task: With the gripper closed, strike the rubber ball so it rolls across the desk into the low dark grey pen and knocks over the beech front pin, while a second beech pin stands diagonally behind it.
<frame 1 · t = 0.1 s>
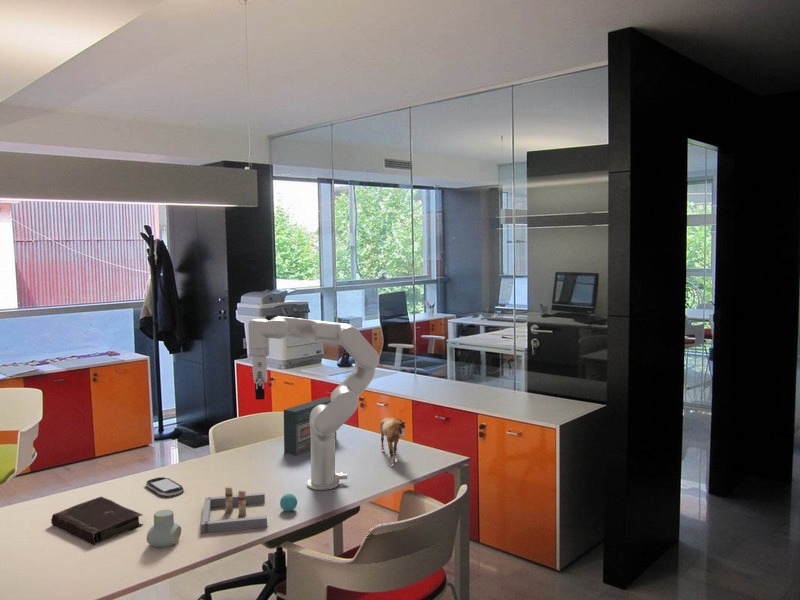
hand: (259, 396, 245), 37 cm above the table, tool pointing down, fingers open, 9 cm apart
back pin: (229, 511, 228), on the table
diary: (98, 527, 217), on the table
front pin: (242, 515, 225), on the table
ball: (288, 502, 229), on the table
horse figurine: (397, 457, 286), on the table
gaming console: (164, 490, 249), on the table
air freshener: (164, 544, 204), on the table
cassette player: (311, 446, 303), on the table
pin pen: (236, 515, 225), on the table
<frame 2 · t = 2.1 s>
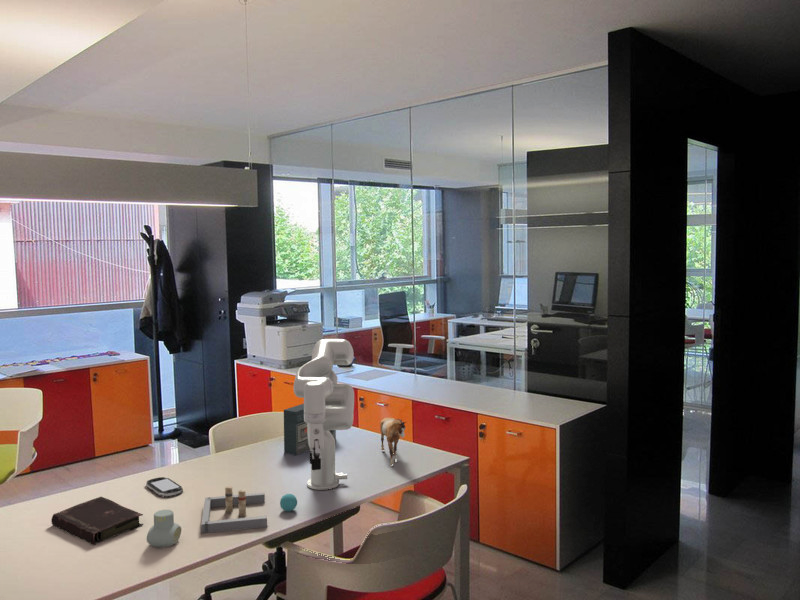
hand: (315, 466, 230), 16 cm above the table, tool pointing down, fingers open, 5 cm apart
nothing on the table moved.
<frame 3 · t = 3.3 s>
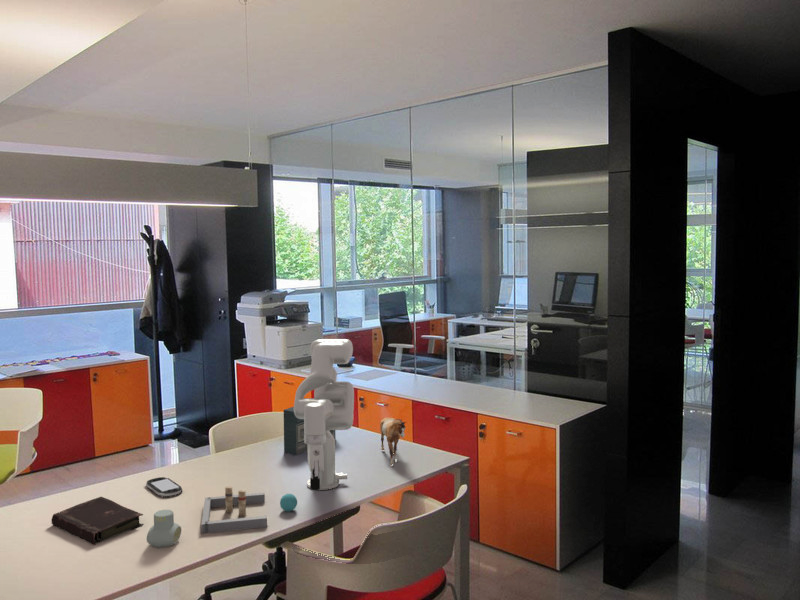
hand: (315, 488, 230), 8 cm above the table, tool pointing down, fingers closed
nothing on the table moved.
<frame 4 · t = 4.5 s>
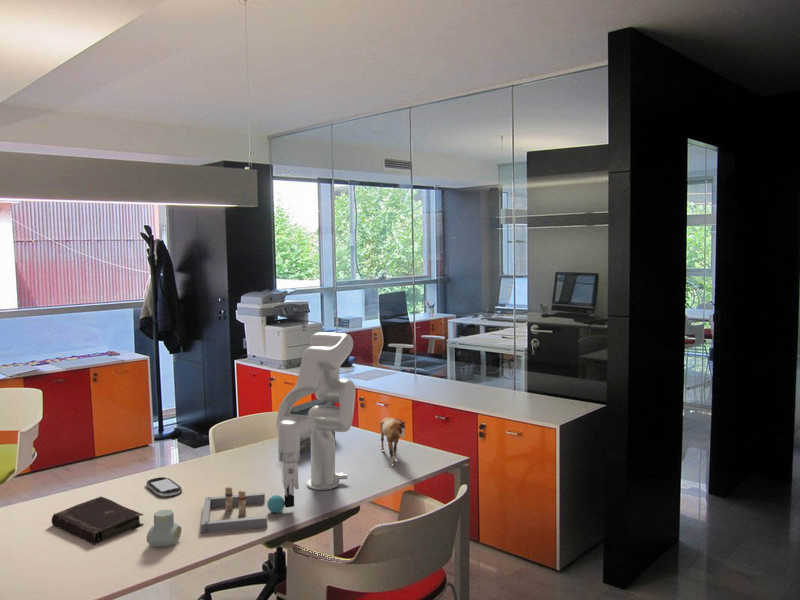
hand: (289, 506, 228), 2 cm above the table, tool pointing down, fingers closed
ball: (276, 504, 227), on the table
everything else where it was.
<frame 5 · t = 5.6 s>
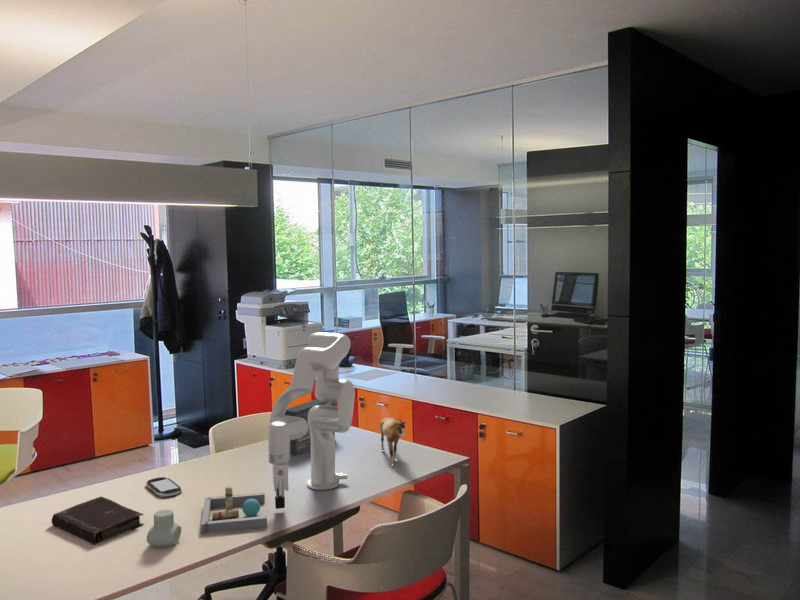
hand: (280, 507, 228), 2 cm above the table, tool pointing down, fingers closed
front pin: (238, 512, 224), point 1 cm above the table, tilted 90°
ball: (251, 507, 224), on the table
everything else where it was.
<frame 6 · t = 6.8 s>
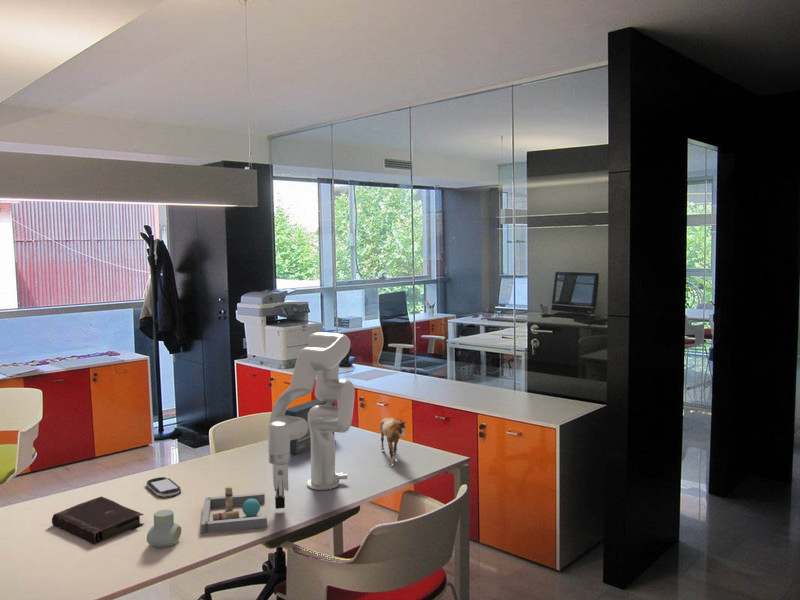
hand: (280, 507, 228), 2 cm above the table, tool pointing down, fingers closed
front pin: (238, 513, 223), point 1 cm above the table, tilted 90°
everything else where it was.
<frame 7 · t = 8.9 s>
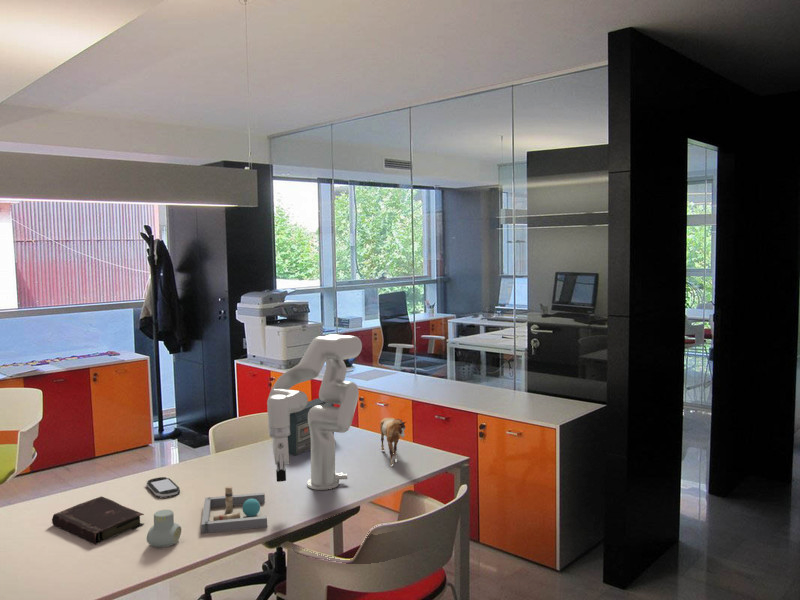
hand: (281, 480, 228), 11 cm above the table, tool pointing down, fingers closed
front pin: (239, 516, 221), point 1 cm above the table, tilted 90°
everything else where it was.
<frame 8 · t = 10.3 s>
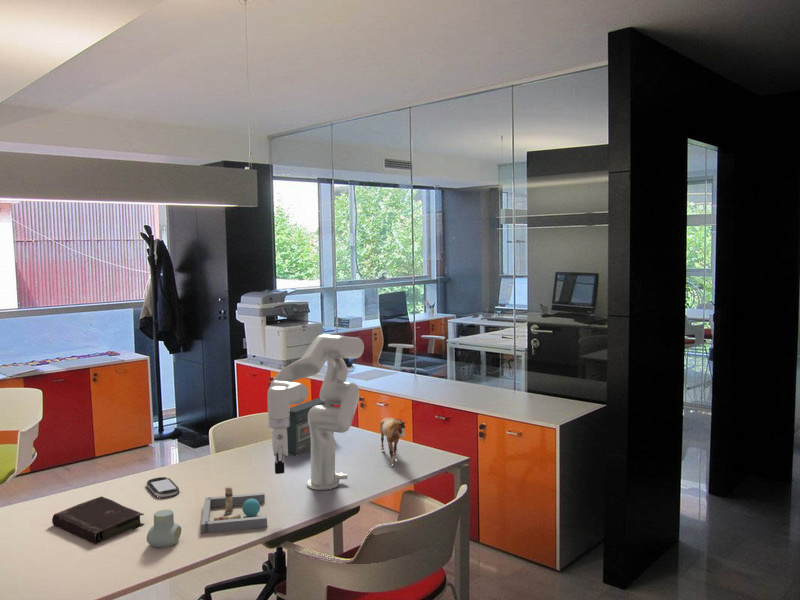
hand: (279, 472, 227), 14 cm above the table, tool pointing down, fingers closed
front pin: (240, 517, 220), point 1 cm above the table, tilted 90°
everything else where it was.
at the end: front pin tilted 90°; front pin never touched the robot; ball moved 13.0 cm from its start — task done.
